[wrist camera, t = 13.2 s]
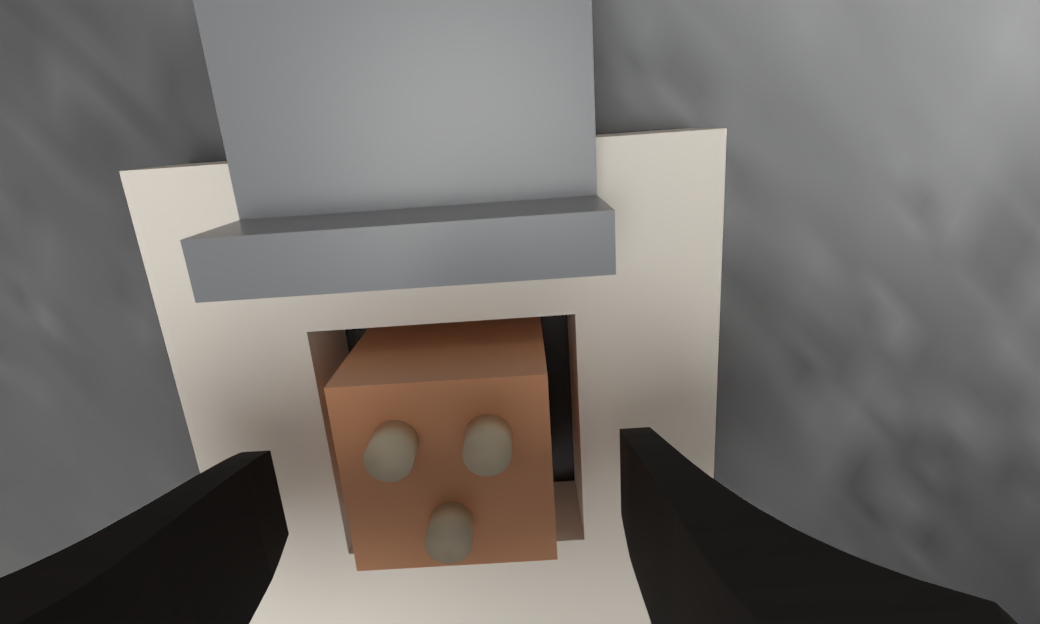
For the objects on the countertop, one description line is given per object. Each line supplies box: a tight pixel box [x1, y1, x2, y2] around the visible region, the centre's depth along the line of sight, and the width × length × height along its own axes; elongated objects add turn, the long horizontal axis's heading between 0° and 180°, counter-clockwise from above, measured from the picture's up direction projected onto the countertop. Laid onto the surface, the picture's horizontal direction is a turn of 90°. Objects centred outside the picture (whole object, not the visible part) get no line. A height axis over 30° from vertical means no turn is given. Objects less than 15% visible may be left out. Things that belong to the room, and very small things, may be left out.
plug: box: [324, 317, 558, 571], centre depth 13 cm, size 4×4×5 cm
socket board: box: [119, 128, 727, 624], centre depth 15 cm, size 16×12×2 cm
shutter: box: [180, 0, 616, 303], centre depth 9 cm, size 7×7×3 cm
